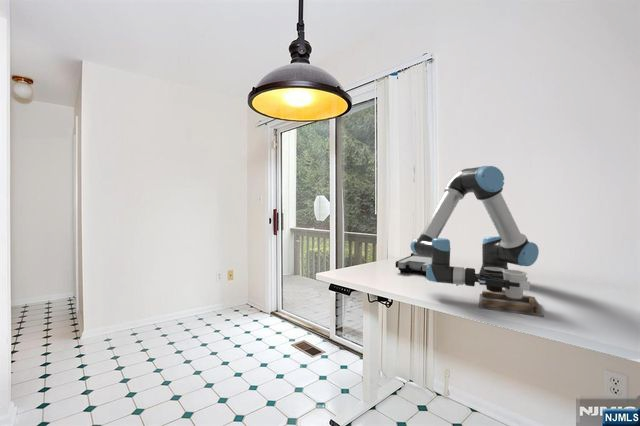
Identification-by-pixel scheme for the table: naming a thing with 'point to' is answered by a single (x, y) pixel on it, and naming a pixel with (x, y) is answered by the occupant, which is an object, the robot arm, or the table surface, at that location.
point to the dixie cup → (515, 276)
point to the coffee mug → (493, 270)
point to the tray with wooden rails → (509, 303)
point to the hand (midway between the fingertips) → (528, 283)
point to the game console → (414, 263)
